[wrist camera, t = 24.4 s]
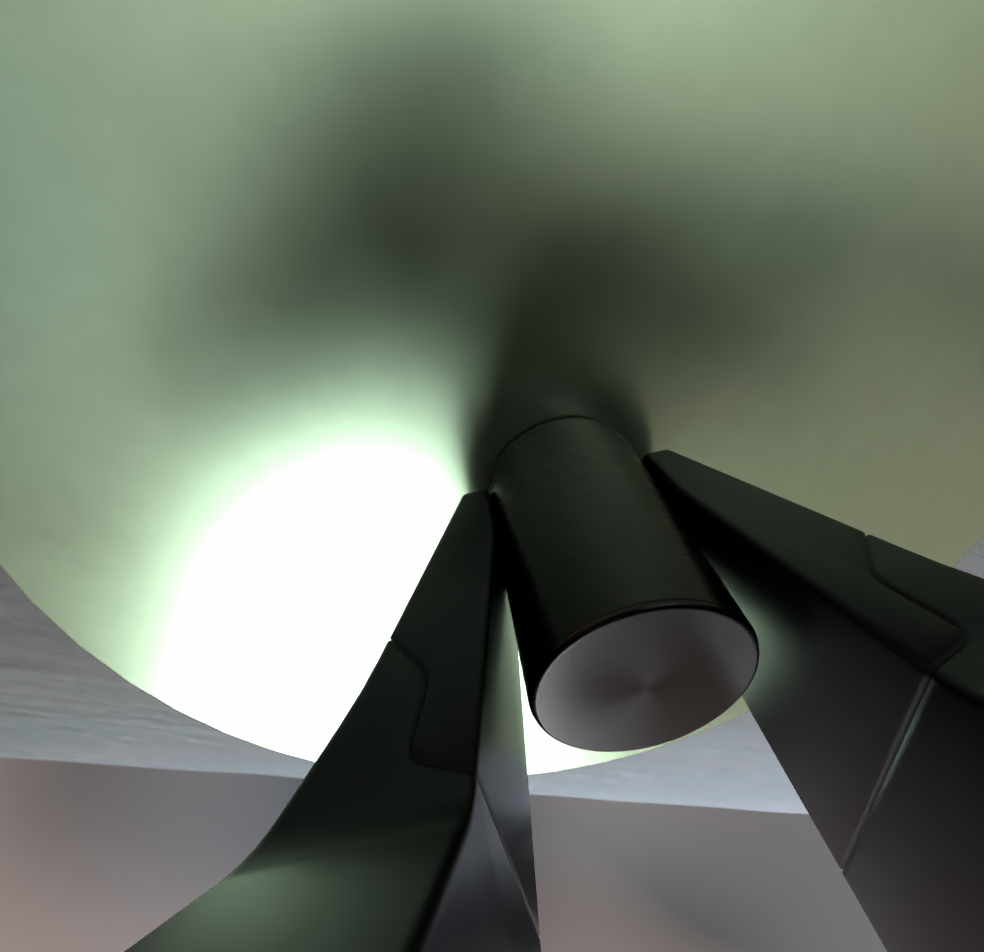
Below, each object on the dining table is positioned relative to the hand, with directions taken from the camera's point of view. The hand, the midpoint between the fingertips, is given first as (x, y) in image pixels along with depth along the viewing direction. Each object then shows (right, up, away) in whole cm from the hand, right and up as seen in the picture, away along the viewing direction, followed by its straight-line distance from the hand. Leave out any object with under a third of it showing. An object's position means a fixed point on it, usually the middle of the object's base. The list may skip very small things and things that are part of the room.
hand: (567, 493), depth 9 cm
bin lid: (0, 0, +1) cm, 1 cm away
